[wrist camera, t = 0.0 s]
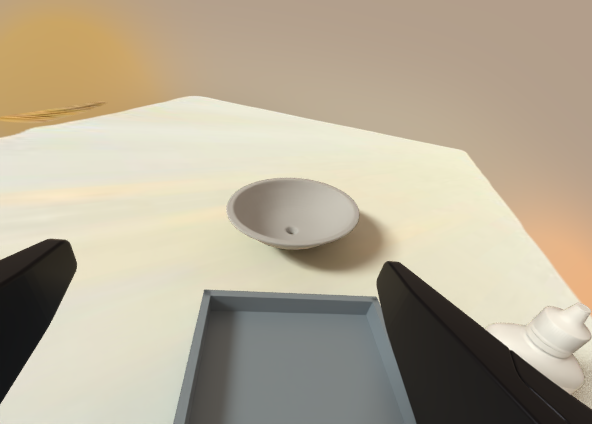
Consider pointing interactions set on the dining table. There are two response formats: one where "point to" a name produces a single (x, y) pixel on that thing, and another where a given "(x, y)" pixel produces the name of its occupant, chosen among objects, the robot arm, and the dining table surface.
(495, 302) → the dining table surface
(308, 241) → the dish
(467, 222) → the dining table surface
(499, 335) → the eye dropper bottle
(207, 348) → the slate tray
